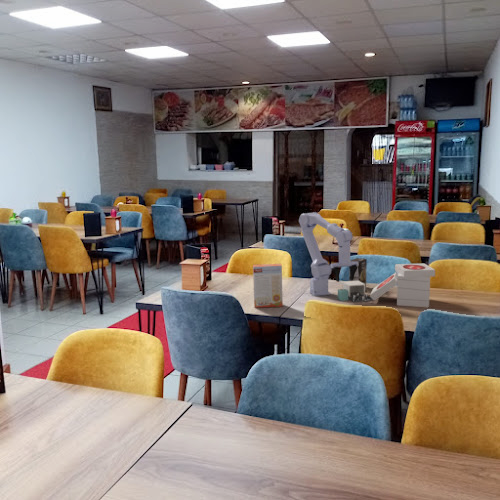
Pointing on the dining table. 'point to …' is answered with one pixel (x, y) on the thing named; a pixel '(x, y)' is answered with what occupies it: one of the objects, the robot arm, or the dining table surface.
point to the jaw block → (342, 294)
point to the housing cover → (354, 287)
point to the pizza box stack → (408, 285)
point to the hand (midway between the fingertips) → (344, 280)
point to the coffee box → (360, 270)
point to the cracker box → (267, 285)
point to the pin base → (359, 297)
